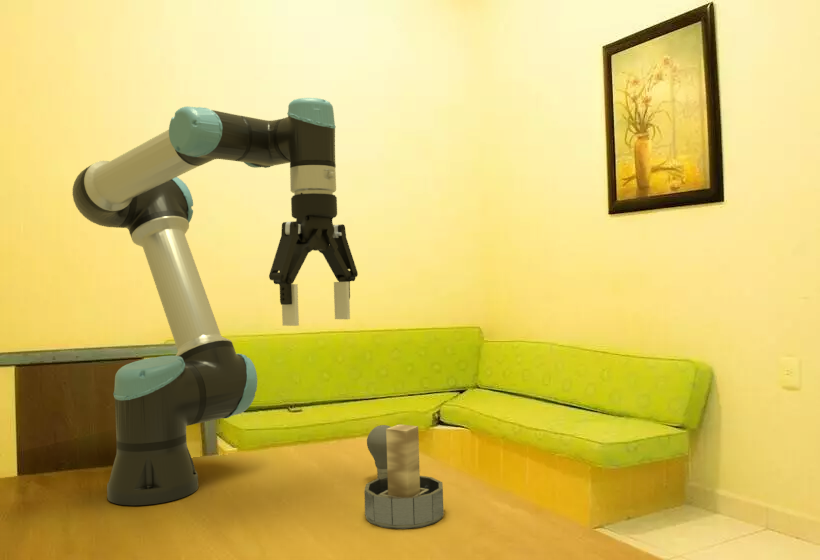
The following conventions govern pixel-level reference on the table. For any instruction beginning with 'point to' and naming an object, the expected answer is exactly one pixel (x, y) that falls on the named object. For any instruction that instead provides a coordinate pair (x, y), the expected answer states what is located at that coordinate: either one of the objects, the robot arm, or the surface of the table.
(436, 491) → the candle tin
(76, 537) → the table surface
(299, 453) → the table surface
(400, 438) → the tan square post
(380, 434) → the light bulb
